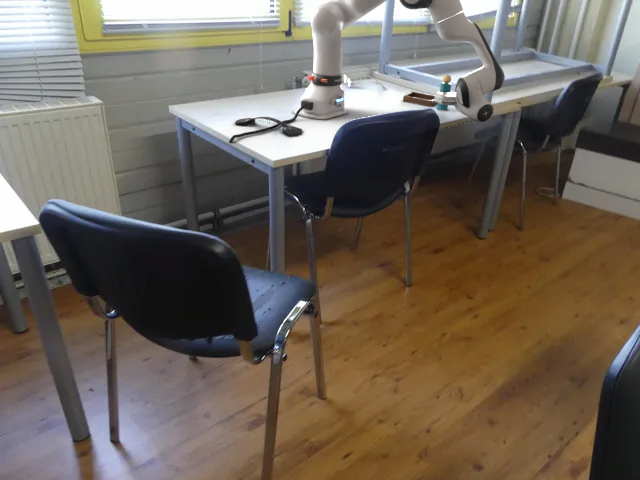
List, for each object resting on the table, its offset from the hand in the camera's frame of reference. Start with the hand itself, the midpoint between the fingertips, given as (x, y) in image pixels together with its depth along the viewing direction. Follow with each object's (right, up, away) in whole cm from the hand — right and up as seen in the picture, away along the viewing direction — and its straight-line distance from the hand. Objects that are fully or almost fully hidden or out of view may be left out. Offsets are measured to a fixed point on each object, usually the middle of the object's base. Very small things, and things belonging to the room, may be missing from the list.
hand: (450, 93), depth 229 cm
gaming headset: (-71, -24, -36) cm, 83 cm away
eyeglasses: (-36, +15, +35) cm, 53 cm away
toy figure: (-2, -4, +8) cm, 10 cm away
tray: (-10, +2, +17) cm, 20 cm away
